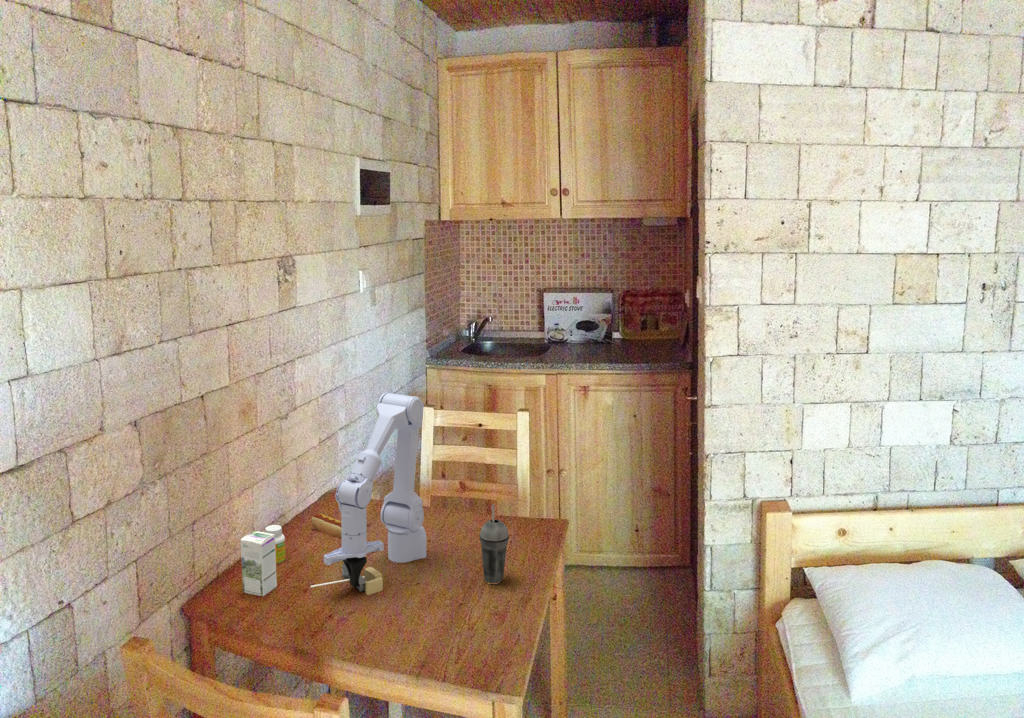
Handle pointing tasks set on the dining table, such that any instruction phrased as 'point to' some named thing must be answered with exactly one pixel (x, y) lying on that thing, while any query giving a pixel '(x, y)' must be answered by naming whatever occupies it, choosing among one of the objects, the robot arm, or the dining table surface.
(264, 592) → the syrup box
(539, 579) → the dining table surface
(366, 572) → the board
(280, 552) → the supplement bottle
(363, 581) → the latch bar
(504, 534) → the beverage cup
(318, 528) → the food
